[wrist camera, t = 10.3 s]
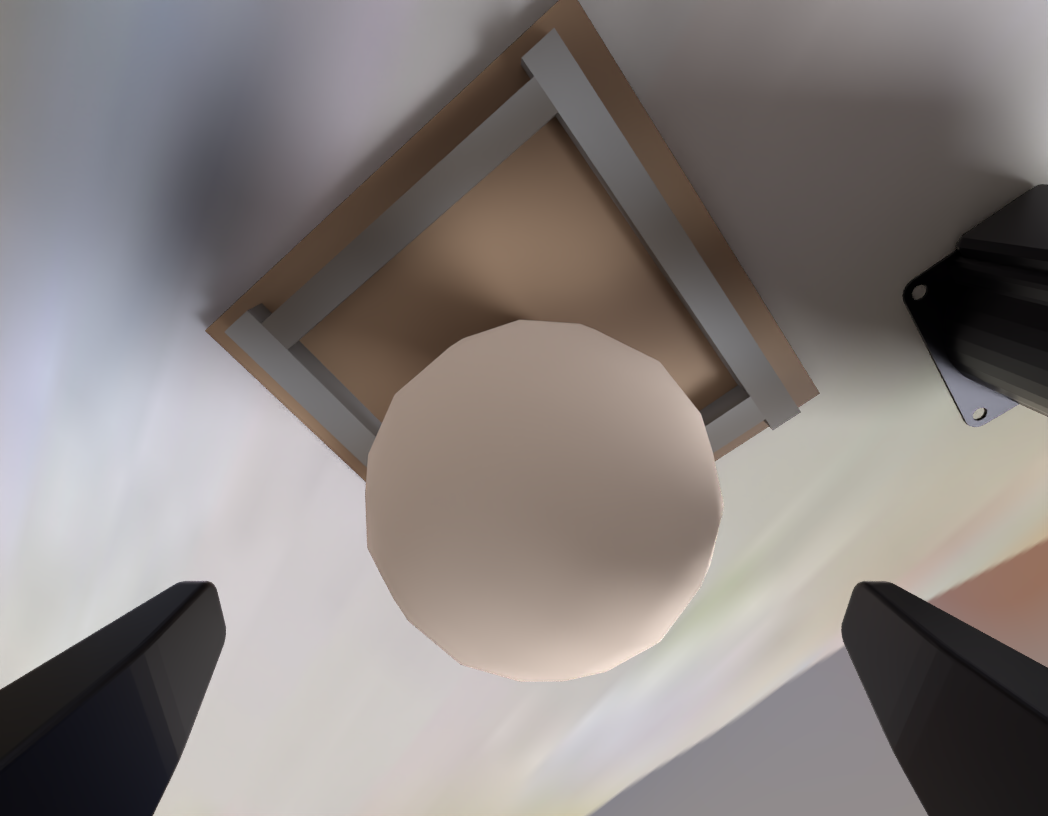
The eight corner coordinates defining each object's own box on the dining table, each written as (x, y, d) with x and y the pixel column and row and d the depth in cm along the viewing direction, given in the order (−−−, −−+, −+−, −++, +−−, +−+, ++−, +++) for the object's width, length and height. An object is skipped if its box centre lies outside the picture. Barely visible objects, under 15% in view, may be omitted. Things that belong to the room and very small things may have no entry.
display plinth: (810, 387, 19) (836, 405, 17) (495, 592, 22) (494, 622, 21) (568, -4, 14) (575, -25, 13) (214, 325, 17) (187, 339, 16)
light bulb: (382, 381, 18) (218, 659, 8) (507, 210, 16) (511, 275, 6) (542, 488, 19) (581, 830, 9) (672, 345, 17) (899, 581, 7)
